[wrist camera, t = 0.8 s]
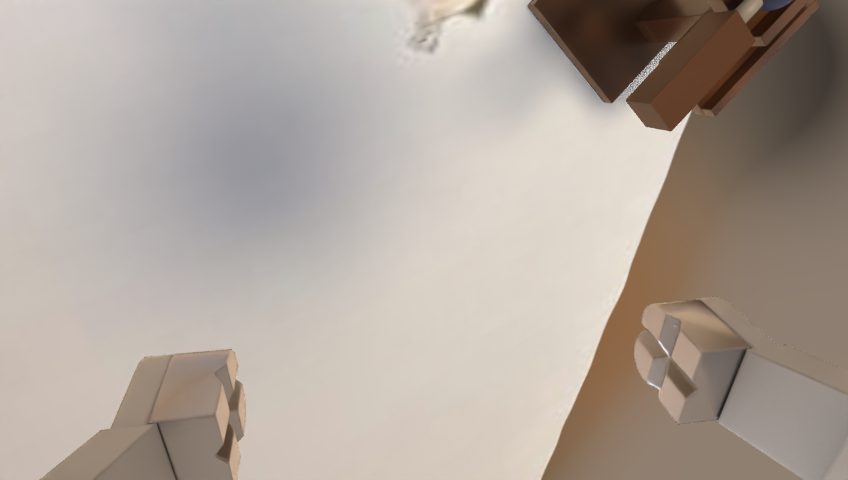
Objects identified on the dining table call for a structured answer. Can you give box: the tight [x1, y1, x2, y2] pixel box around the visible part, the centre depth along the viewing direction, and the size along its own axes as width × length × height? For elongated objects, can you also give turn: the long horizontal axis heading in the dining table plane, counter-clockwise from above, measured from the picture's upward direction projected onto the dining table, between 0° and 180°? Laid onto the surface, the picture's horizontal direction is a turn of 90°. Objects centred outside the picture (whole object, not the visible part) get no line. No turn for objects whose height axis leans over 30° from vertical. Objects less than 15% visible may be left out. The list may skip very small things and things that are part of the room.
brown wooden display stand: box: [528, 0, 819, 116], centre depth 44 cm, size 12×14×26 cm
